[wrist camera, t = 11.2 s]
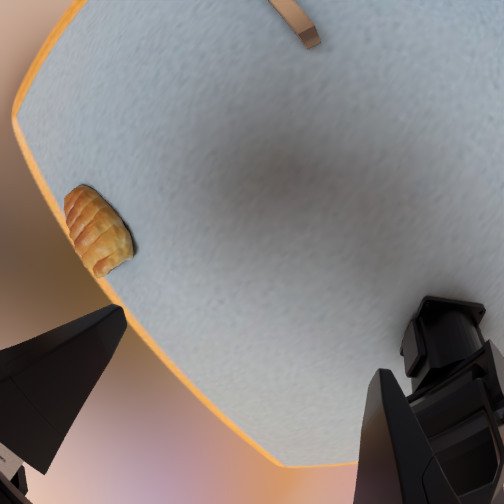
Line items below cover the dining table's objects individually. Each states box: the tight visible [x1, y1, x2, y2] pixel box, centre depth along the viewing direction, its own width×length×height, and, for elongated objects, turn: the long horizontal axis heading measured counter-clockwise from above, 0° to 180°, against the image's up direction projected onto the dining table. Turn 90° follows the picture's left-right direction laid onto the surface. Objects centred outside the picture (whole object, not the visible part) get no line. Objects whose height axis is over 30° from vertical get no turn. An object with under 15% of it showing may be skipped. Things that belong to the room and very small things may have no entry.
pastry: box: [64, 185, 133, 279], centre depth 25 cm, size 9×7×4 cm
